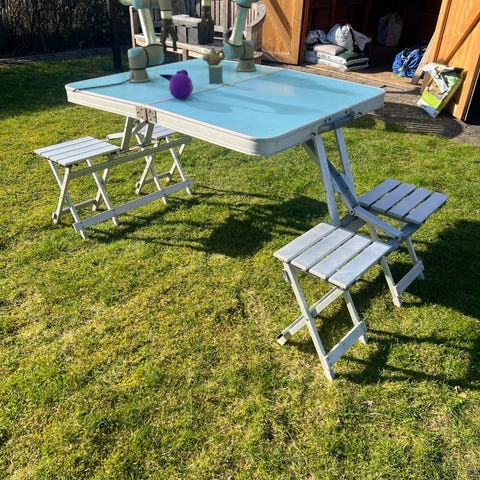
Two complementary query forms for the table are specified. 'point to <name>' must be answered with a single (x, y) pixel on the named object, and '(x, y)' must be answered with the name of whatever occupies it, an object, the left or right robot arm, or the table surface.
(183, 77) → the toy
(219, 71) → the block
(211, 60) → the teapot
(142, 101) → the table surface
